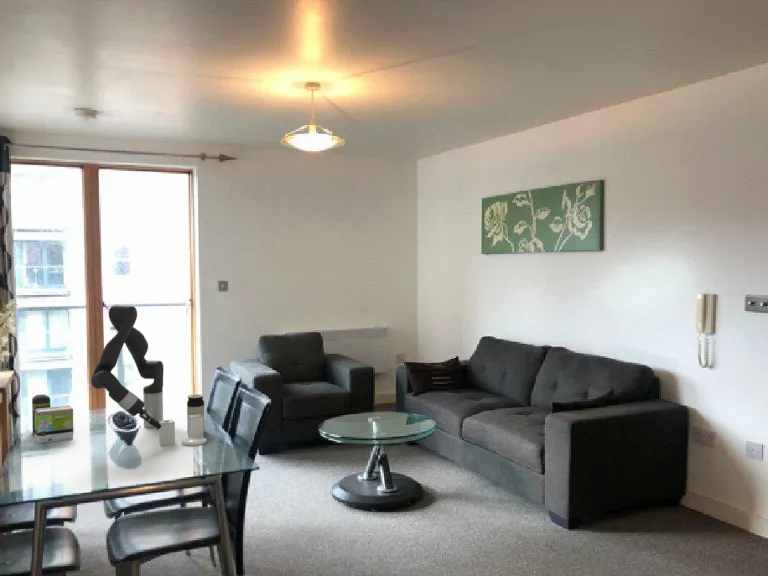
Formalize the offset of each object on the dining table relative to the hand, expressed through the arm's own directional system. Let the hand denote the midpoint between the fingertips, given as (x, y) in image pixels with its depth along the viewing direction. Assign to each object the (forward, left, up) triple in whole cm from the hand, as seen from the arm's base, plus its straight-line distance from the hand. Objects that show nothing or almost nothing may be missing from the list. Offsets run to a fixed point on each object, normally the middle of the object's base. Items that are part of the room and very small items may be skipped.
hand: (158, 426), depth 295 cm
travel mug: (-14, +20, -9) cm, 25 cm away
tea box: (-34, -41, -9) cm, 54 cm away
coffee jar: (-51, -46, -9) cm, 70 cm away
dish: (+5, +15, -8) cm, 17 cm away
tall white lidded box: (-6, +18, -8) cm, 20 cm away
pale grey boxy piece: (0, +4, -8) cm, 9 cm away
